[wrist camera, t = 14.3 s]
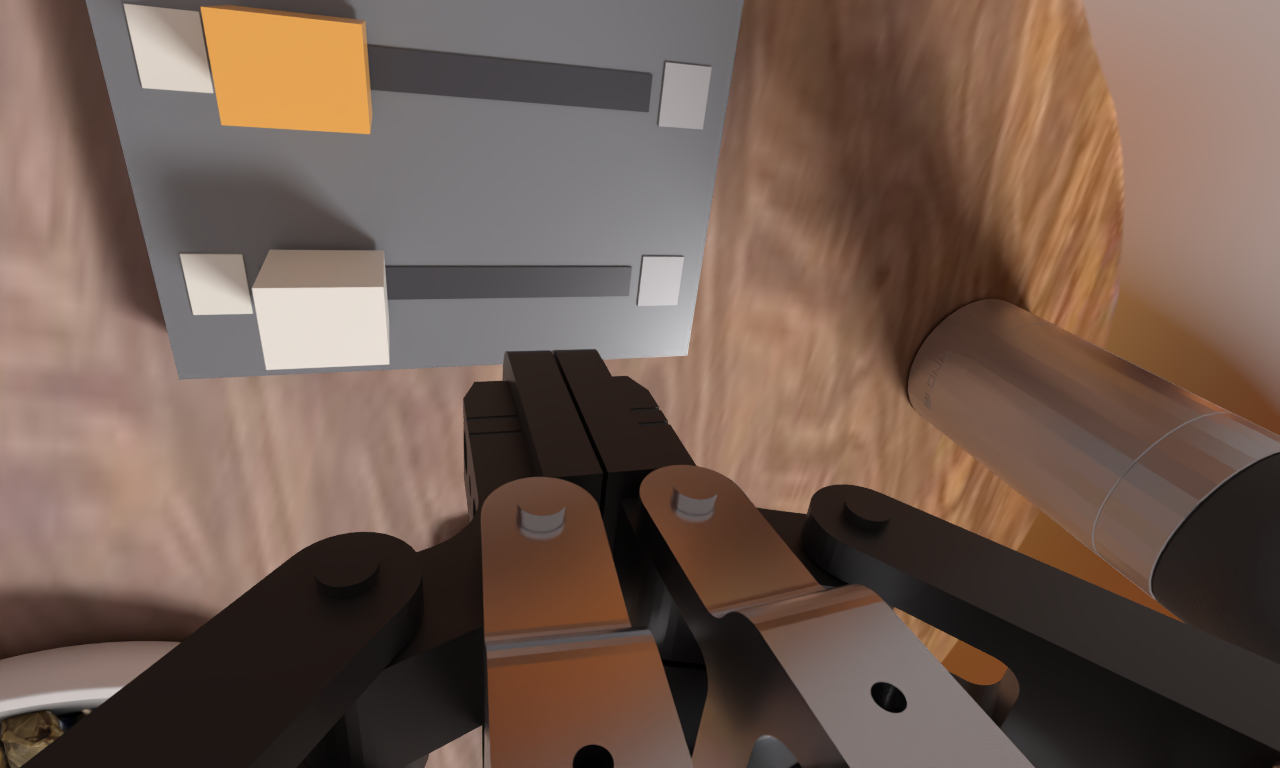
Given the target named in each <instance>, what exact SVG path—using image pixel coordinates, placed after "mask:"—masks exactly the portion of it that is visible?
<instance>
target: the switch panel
mask: <svg viewBox="0 0 1280 768" xmlns="http://www.w3.org/2000/svg"><path fill="white" fill-rule="evenodd" d="M85 1H86V5H87V9H88V13H89V17H90V21H91V25H92V29H93V33H94V37H95V41H96V45H97V49H98V53H99V57H100V61H101V65H102V69H103V73H104V77H105V81H106V85H107V89H108V93H109V98H110V102H111V106H112V110H113V114H114V118H115V122H116V126H117V130H118V134H119V138H120V142H121V146H122V150H123V154H124V158H125V162H126V166H127V170H128V174H129V178H130V182H131V186H132V190H133V194H134V198H135V203H136V207H137V211H138V215H139V219H140V223H141V227H142V231H143V235H144V239H145V243H146V247H147V251H148V255H149V259H150V263H151V267H152V271H153V275H154V279H155V283H156V287H157V291H158V295H159V299H160V303H161V307H162V312H163V316H164V320H165V324H166V328H167V332H168V336H169V340H170V344H171V348H172V352H173V356H174V360H175V364H176V368H177V372H178V376H179V380H181V379H202V378H223V377H244V376H265V375H286V374H308V373H329V372H350V371H371V370H392V369H413V368H434V367H455V366H476V365H498V364H503V360H504V354H505V351H539V350H550V351H552V350H575V349H596V350H597V351H598V353H599V354H600V356H601V358H602V360H603V359H624V358H645V357H666V356H687V354H688V347H689V341H690V335H691V328H692V322H693V316H694V310H695V303H696V297H697V291H698V285H699V278H700V272H701V266H702V259H703V253H704V247H705V241H706V234H707V228H708V222H709V216H710V209H711V203H712V197H713V190H714V184H715V178H716V172H717V165H718V159H719V153H720V147H721V140H722V134H723V128H724V121H725V115H726V109H727V103H728V96H729V90H730V84H731V78H732V71H733V65H734V59H735V52H736V46H737V40H738V34H739V27H740V21H741V15H742V9H743V2H744V0H85ZM220 5H234V6H243V7H252V8H261V9H270V10H279V11H288V12H296V13H305V14H314V15H323V16H332V17H341V18H350V19H359V20H365V22H366V35H367V49H368V62H369V75H370V88H371V102H372V124H371V132H370V134H358V133H341V132H325V131H308V130H292V129H275V128H259V127H242V126H226V125H221V120H220V114H219V109H218V103H217V98H216V92H215V86H214V81H213V75H212V69H211V64H210V58H209V52H208V47H207V41H206V36H205V30H204V24H203V19H202V13H201V7H203V6H220ZM269 250H383V251H384V258H385V272H386V285H387V299H388V312H389V365H367V366H344V367H322V368H300V369H278V370H266V366H265V360H264V355H263V349H262V343H261V338H260V332H259V326H258V321H257V315H256V309H255V303H254V298H253V292H252V287H253V285H254V282H255V280H256V278H257V276H258V274H259V272H260V269H261V267H262V265H263V263H264V261H265V259H266V256H267V254H268V252H269Z"/></svg>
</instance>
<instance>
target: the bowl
mask: <svg viewBox="0 0 1280 768" xmlns="http://www.w3.org/2000/svg"><path fill="white" fill-rule="evenodd" d="M180 643H181V642H166V641H127V642H107V643H96V644H85V645H77V646H69V647H62V648H55V649H49V650H43V651H38V652H33V653H28V654H23V655H19V656H14V657H10V658H6V659H2V660H0V768H19V767H21V766H22V765H23V764H25V763H26V762H27V761H29V760H30V759H31V758H32V757H34V756H35V755H36V754H38V753H39V752H40V751H41V750H43V749H44V748H45V747H47V746H48V745H49V744H50V743H52V742H53V741H54V740H56V739H57V738H58V737H60V736H61V735H62V734H63V733H65V732H66V731H67V730H69V729H70V728H71V727H72V726H74V725H75V724H76V723H78V722H79V721H80V720H82V719H83V718H84V717H85V716H87V715H88V714H89V713H91V712H92V711H93V710H94V709H96V708H97V707H98V706H100V705H101V704H102V703H104V702H105V701H106V700H107V699H109V698H110V697H111V696H113V695H114V694H115V693H116V692H118V691H119V690H120V689H122V688H123V687H124V686H125V685H127V684H128V683H129V682H131V681H132V680H133V679H135V678H136V677H137V676H138V675H140V674H141V673H142V672H144V671H145V670H146V669H147V668H149V667H150V666H151V665H153V664H154V663H155V662H157V661H158V660H159V659H160V658H162V657H163V656H164V655H166V654H167V653H168V652H169V651H171V650H172V649H173V648H175V647H176V646H177V645H178V644H180Z"/></svg>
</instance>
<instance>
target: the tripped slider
mask: <svg viewBox="0 0 1280 768" xmlns="http://www.w3.org/2000/svg"><path fill="white" fill-rule="evenodd" d="M201 13H202V19H203V24H204V30H205V36H206V41H207V47H208V52H209V58H210V64H211V69H212V75H213V81H214V86H215V92H216V98H217V103H218V109H219V114H220V120H221V125H226V126H242V127H259V128H275V129H292V130H308V131H325V132H341V133H358V134H370V132H371V124H372V102H371V88H370V75H369V62H368V49H367V35H366V22H365V20H359V19H350V18H341V17H332V16H323V15H314V14H305V13H296V12H288V11H279V10H270V9H261V8H252V7H243V6H234V5H220V6H203V7H201Z"/></svg>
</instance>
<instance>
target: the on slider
mask: <svg viewBox="0 0 1280 768" xmlns="http://www.w3.org/2000/svg"><path fill="white" fill-rule="evenodd" d="M252 292H253V298H254V303H255V309H256V315H257V321H258V326H259V332H260V338H261V343H262V349H263V355H264V360H265V366H266V370H278V369H300V368H322V367H344V366H367V365H389V312H388V299H387V285H386V272H385V258H384V251H383V250H269V252H268V254H267V256H266V259H265V261H264V263H263V265H262V267H261V269H260V272H259V274H258V276H257V278H256V280H255V282H254V285H253V287H252Z"/></svg>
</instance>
